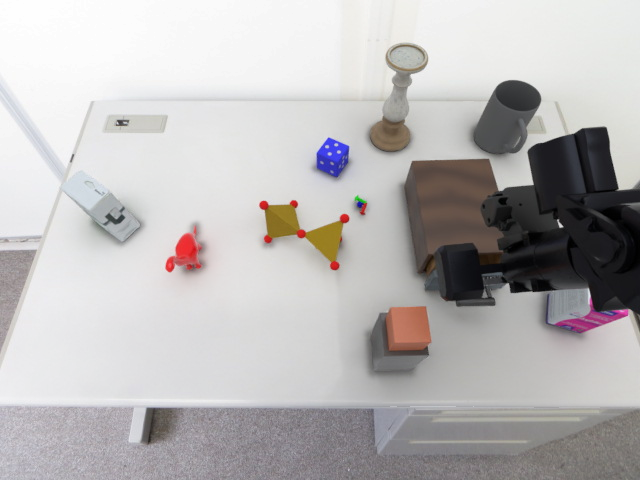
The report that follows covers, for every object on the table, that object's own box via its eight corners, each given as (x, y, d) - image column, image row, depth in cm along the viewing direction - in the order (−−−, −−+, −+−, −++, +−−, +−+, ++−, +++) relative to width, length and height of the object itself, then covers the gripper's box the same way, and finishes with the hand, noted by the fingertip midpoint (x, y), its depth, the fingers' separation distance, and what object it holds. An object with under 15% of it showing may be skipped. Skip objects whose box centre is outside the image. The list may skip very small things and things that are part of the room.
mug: (468, 124, 86) (488, 80, 75) (508, 122, 86) (533, 78, 75) (483, 172, 79) (507, 131, 69) (526, 170, 80) (557, 128, 69)
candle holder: (403, 156, 82) (425, 77, 64) (365, 145, 83) (376, 65, 65) (413, 128, 85) (437, 46, 68) (376, 118, 87) (390, 35, 69)
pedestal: (410, 370, 61) (429, 355, 50) (373, 371, 61) (384, 356, 50) (405, 333, 64) (422, 311, 53) (370, 334, 64) (379, 312, 53)
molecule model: (285, 178, 78) (276, 152, 66) (368, 204, 76) (375, 182, 64) (257, 251, 75) (243, 237, 63) (343, 280, 73) (345, 271, 61)
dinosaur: (205, 224, 74) (185, 187, 63) (204, 296, 67) (181, 268, 56) (185, 227, 74) (161, 190, 63) (182, 299, 67) (154, 272, 56)
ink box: (93, 221, 75) (56, 186, 64) (113, 204, 77) (79, 167, 66) (122, 243, 72) (88, 211, 62) (142, 225, 74) (112, 190, 64)
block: (423, 349, 50) (432, 342, 46) (388, 350, 50) (394, 343, 46) (418, 316, 52) (426, 306, 48) (385, 317, 52) (390, 306, 48)
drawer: (507, 312, 64) (524, 300, 59) (429, 314, 64) (438, 302, 59) (478, 201, 75) (490, 182, 69) (410, 202, 75) (417, 183, 69)
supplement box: (545, 324, 64) (586, 303, 54) (547, 293, 67) (586, 267, 57) (581, 335, 63) (630, 315, 53) (581, 303, 66) (628, 278, 56)
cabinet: (497, 271, 69) (517, 251, 62) (417, 273, 69) (428, 254, 62) (474, 184, 78) (489, 158, 71) (403, 186, 78) (411, 160, 71)
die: (348, 161, 81) (349, 145, 77) (337, 177, 79) (337, 162, 75) (328, 152, 82) (328, 136, 78) (316, 168, 80) (316, 152, 76)
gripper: (640, 168, 37) (543, 207, 52) (452, 184, 36) (410, 220, 52) (668, 282, 35) (559, 288, 50) (471, 301, 34) (422, 301, 50)
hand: (487, 272), depth 51 cm, fingers open, 9 cm apart
